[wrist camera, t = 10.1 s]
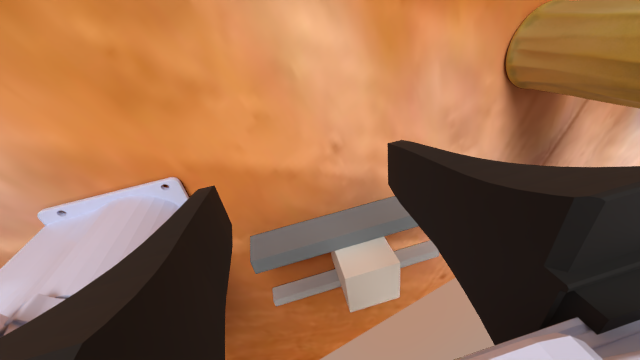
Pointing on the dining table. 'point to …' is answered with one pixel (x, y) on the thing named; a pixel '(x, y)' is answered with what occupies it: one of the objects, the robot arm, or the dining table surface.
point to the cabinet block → (368, 273)
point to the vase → (580, 50)
